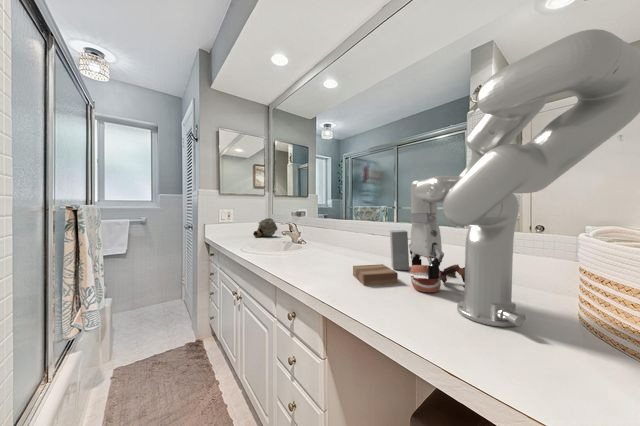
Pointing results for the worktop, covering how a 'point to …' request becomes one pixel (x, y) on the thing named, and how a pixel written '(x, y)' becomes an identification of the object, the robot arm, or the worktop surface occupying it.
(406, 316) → the worktop surface
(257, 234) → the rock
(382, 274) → the walnut base
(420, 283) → the dentures
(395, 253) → the skincare box
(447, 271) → the dark brown jagged part
